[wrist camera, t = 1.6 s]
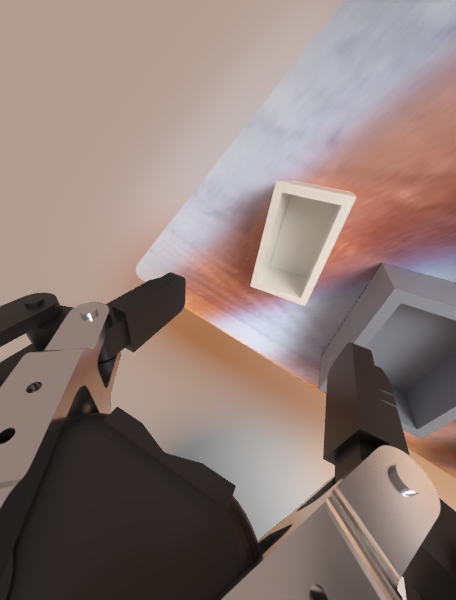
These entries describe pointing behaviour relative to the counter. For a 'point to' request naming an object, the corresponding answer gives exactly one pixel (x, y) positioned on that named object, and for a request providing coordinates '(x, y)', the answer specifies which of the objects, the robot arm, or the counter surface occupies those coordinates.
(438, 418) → the slate crate
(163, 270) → the counter surface
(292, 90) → the counter surface
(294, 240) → the white crate
